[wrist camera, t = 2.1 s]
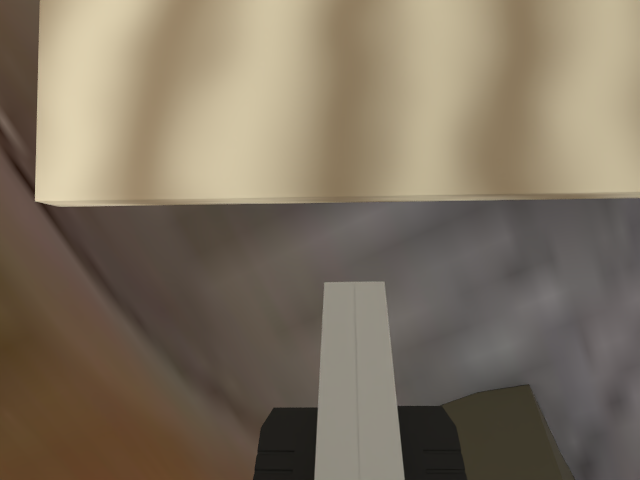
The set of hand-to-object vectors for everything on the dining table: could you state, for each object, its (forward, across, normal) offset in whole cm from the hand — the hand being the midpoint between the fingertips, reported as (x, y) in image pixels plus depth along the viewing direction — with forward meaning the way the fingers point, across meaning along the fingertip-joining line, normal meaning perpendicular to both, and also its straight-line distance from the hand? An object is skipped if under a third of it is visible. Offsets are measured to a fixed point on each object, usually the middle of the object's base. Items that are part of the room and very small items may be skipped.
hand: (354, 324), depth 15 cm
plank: (+12, 0, -2) cm, 12 cm away
